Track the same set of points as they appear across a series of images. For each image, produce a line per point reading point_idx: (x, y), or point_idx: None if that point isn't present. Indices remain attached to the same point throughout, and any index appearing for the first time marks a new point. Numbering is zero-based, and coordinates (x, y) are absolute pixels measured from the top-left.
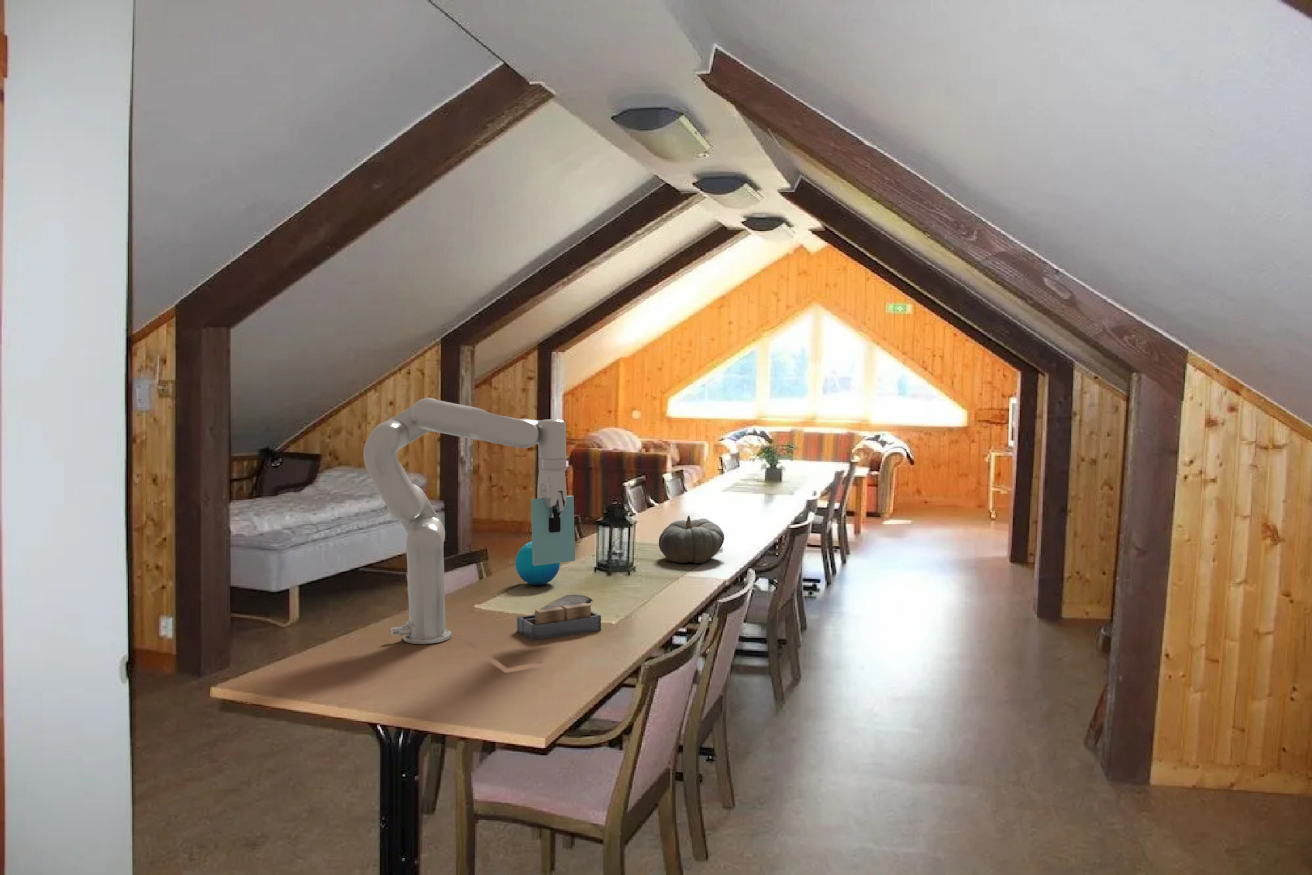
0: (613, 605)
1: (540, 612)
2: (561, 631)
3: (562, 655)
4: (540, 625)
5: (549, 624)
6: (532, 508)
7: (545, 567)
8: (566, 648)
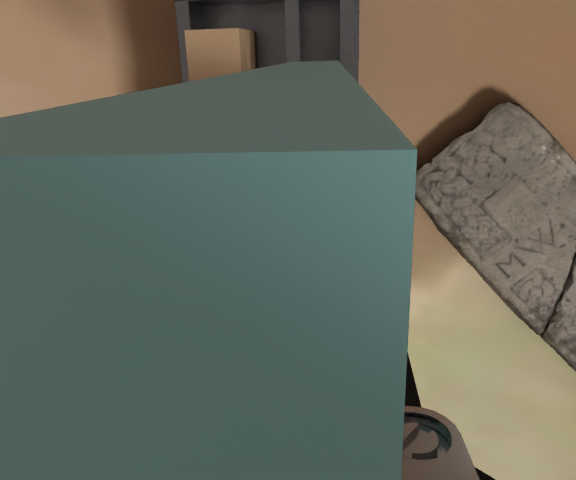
0: (526, 451)
1: (185, 34)
2: None
3: (23, 43)
4: (178, 26)
5: (182, 71)
6: (219, 90)
7: None
8: (98, 91)
